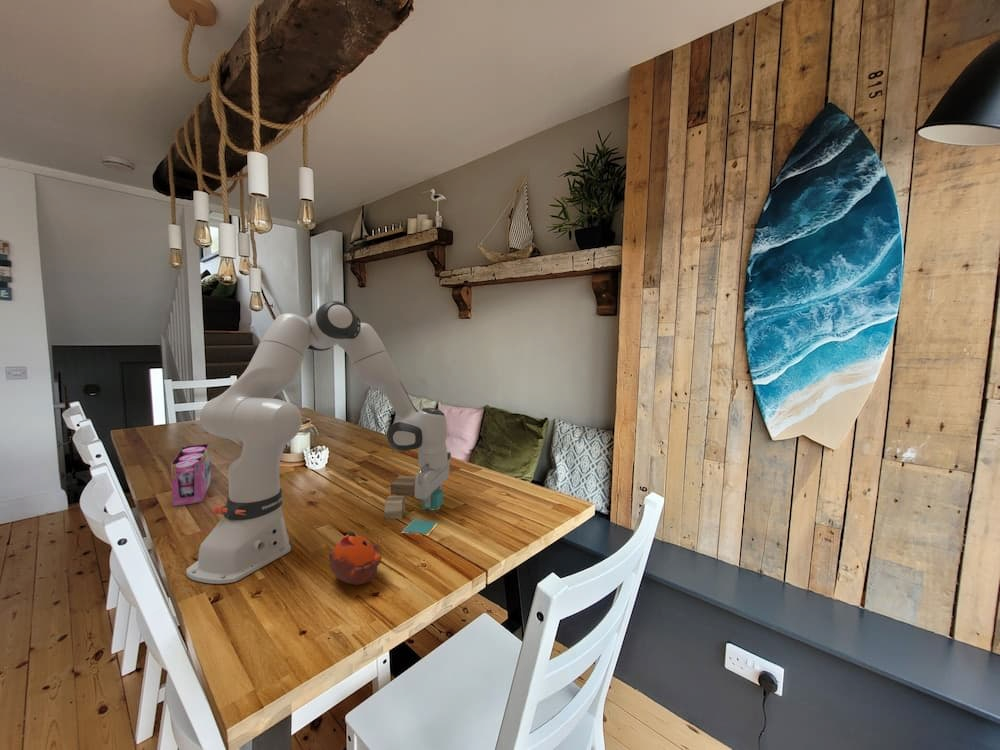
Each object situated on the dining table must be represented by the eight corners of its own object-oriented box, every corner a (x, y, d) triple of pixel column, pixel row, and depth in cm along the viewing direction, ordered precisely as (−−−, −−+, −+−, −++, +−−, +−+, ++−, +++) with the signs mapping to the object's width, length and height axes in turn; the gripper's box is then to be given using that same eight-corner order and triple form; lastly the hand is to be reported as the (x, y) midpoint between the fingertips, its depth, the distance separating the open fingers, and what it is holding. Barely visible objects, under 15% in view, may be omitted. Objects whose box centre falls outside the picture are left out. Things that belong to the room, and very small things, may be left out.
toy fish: (319, 582, 91) (317, 533, 90) (359, 560, 100) (358, 516, 99) (353, 602, 85) (352, 550, 84) (392, 577, 94) (392, 530, 92)
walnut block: (413, 496, 139) (413, 485, 139) (390, 495, 140) (390, 483, 140) (420, 487, 147) (420, 477, 147) (399, 486, 148) (399, 475, 148)
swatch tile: (428, 537, 112) (428, 534, 112) (401, 533, 114) (401, 531, 114) (438, 523, 120) (438, 521, 120) (413, 520, 122) (413, 518, 121)
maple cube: (401, 518, 123) (401, 502, 122) (384, 518, 122) (384, 502, 122) (404, 511, 128) (404, 495, 127) (388, 511, 127) (388, 495, 127)
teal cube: (437, 511, 128) (437, 496, 127) (422, 509, 129) (422, 494, 128) (442, 504, 133) (443, 490, 132) (428, 503, 134) (428, 488, 133)
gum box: (202, 504, 130) (199, 462, 129) (171, 508, 126) (167, 466, 125) (211, 479, 151) (209, 443, 150) (185, 482, 147) (182, 446, 146)
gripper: (429, 471, 118) (429, 517, 120) (452, 451, 138) (452, 490, 140) (408, 469, 120) (409, 514, 121) (435, 449, 139) (435, 488, 141)
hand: (432, 501), depth 131 cm, fingers open, 5 cm apart
